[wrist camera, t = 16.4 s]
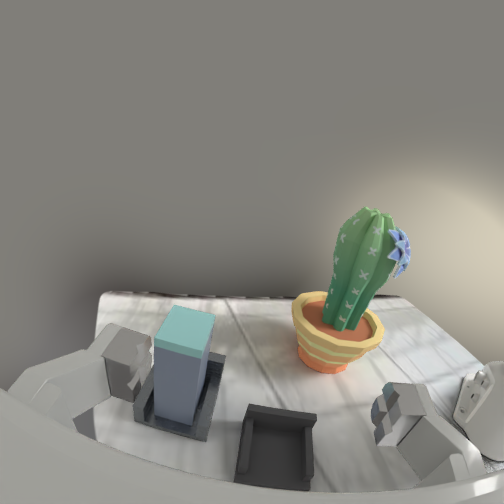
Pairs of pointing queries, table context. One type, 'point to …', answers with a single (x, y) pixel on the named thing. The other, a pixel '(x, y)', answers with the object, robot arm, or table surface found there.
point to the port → (205, 409)
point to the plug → (181, 363)
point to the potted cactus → (350, 293)
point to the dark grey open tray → (276, 449)
